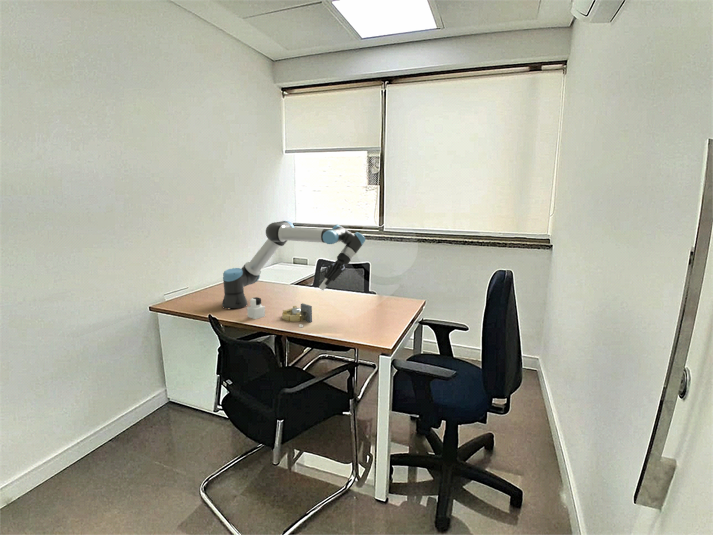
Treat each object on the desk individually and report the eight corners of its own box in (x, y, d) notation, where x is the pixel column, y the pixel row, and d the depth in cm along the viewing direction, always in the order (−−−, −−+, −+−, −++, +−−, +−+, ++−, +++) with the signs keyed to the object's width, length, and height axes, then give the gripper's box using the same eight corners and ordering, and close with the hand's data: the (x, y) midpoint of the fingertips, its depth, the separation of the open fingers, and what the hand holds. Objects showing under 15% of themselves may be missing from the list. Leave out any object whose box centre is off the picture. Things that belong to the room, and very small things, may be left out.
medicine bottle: (257, 315, 219) (256, 295, 217) (265, 318, 215) (264, 298, 212) (247, 318, 214) (246, 298, 211) (255, 321, 209) (253, 300, 207)
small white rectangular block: (298, 327, 200) (298, 324, 200) (302, 326, 201) (302, 324, 200) (299, 329, 196) (299, 326, 196) (303, 329, 197) (303, 326, 197)
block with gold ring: (277, 317, 212) (276, 302, 210) (298, 311, 223) (298, 296, 221) (300, 325, 199) (299, 309, 197) (321, 318, 210) (321, 303, 208)
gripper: (356, 261, 209) (331, 295, 203) (343, 258, 220) (319, 290, 214) (348, 253, 205) (322, 287, 199) (335, 250, 216) (310, 282, 210)
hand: (320, 288), depth 207 cm, fingers closed
